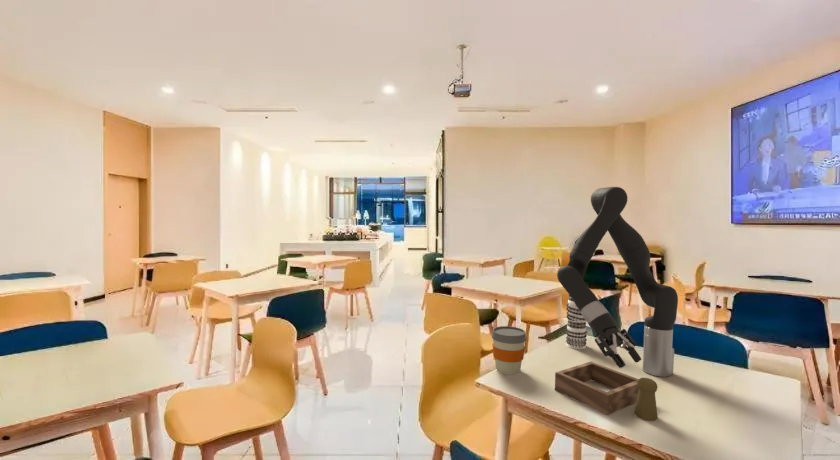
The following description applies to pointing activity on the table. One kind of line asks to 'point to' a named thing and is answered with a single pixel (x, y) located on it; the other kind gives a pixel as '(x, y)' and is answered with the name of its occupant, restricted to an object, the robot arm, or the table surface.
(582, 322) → the decorative candle
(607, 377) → the walnut crate
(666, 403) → the table surface
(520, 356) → the reusable coffee cup
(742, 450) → the table surface
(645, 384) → the olive pawn
